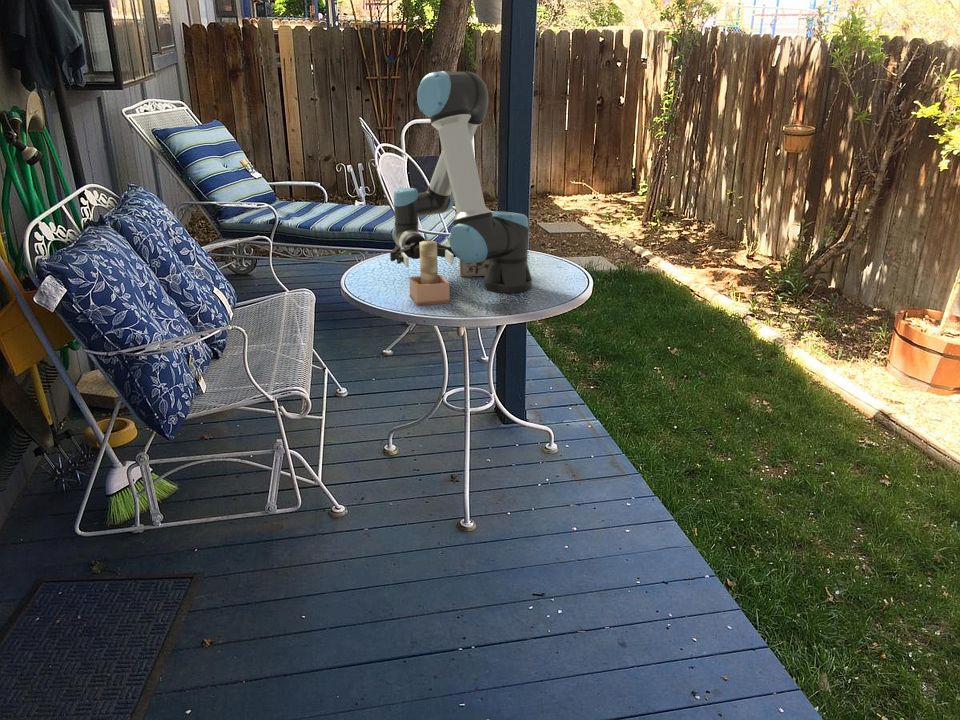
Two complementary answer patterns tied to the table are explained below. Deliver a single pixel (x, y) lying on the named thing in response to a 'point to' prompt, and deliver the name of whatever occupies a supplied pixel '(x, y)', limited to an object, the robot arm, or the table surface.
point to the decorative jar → (473, 268)
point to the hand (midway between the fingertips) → (429, 260)
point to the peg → (428, 262)
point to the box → (429, 291)
